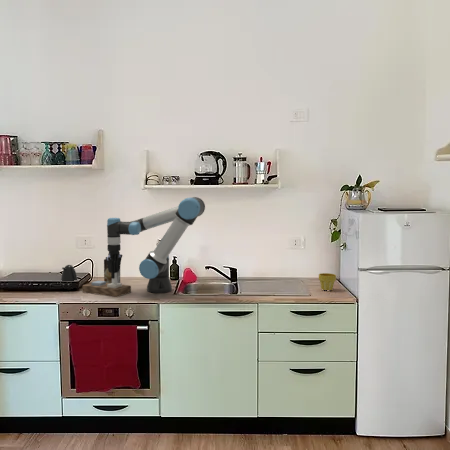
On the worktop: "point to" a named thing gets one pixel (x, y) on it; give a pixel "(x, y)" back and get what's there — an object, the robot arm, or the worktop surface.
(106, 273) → the coffee box
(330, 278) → the plant pot
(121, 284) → the white key
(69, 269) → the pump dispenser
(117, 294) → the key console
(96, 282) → the blue key
